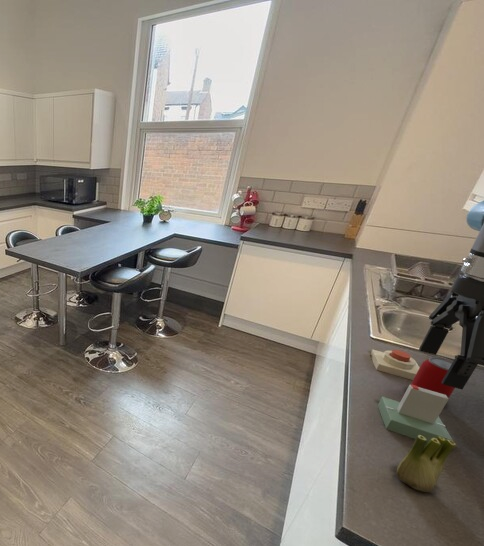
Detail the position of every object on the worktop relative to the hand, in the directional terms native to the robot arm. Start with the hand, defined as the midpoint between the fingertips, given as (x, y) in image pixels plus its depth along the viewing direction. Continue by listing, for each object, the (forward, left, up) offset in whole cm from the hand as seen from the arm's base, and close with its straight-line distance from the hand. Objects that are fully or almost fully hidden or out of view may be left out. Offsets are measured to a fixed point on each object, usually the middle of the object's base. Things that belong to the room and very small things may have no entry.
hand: (438, 367), depth 68 cm
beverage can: (-7, -15, -18) cm, 24 cm away
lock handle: (-1, -1, -14) cm, 15 cm away
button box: (-4, -29, -18) cm, 34 cm away
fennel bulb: (+3, +18, -18) cm, 25 cm away
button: (-4, -29, -14) cm, 33 cm away
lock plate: (-1, -1, -18) cm, 18 cm away
